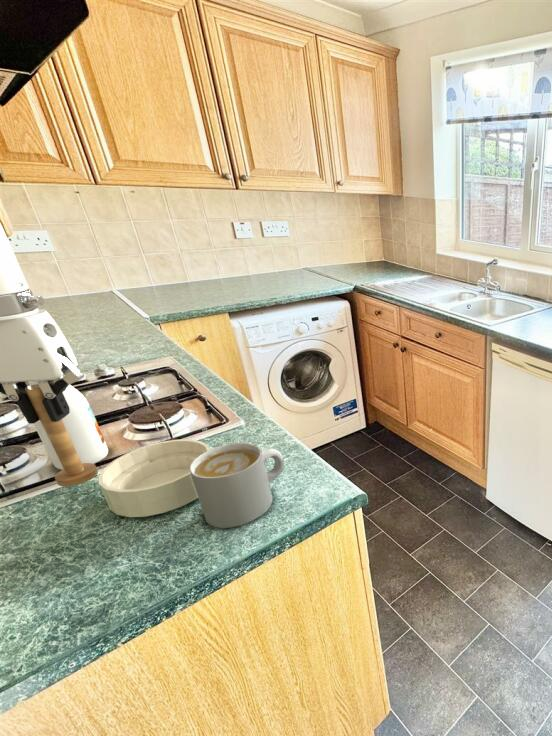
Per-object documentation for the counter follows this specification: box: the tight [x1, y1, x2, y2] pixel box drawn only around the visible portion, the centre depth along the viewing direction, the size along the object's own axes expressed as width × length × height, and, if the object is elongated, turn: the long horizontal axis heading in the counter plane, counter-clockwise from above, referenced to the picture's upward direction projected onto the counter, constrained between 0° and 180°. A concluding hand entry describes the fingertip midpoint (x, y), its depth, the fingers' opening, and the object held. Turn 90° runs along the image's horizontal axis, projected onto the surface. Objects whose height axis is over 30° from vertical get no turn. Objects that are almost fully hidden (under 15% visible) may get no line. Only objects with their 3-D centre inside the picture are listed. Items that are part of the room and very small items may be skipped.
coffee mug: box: [190, 442, 285, 529], centre depth 71 cm, size 13×10×10 cm
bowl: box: [97, 438, 211, 518], centre depth 74 cm, size 15×15×6 cm
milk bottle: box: [28, 372, 109, 471], centre depth 77 cm, size 8×8×20 cm
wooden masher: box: [25, 384, 99, 488], centre depth 68 cm, size 5×5×17 cm
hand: (49, 417), depth 66 cm, fingers closed on wooden masher
